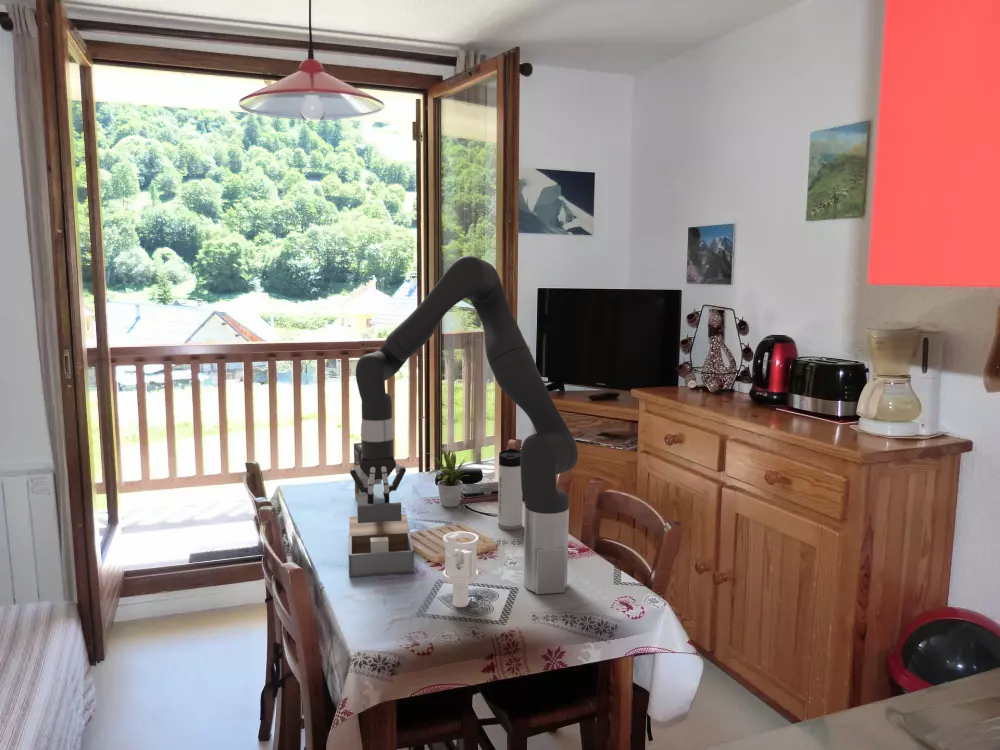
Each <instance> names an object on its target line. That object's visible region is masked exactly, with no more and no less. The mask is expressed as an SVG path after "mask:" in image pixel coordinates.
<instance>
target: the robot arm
mask: <svg viewBox="0 0 1000 750" xmlns="http://www.w3.org/2000/svg"><path fill="white" fill-rule="evenodd" d="M502 284H503V283H502V281H501V279H500V276H499V273H498V271H497V270H496V268H495V267H494V266H493V265H492V264H491V263H489V262H487V261H486V260H484V259H481V258H479V257H477V256H473V255H464V256H460V257H459V258H458V259H456V260H455V261H454V262H453V263H452V264H451V265H450V266H449V267H448V269H447V270H446V271H445V272H444V274H443V275H442V276H441V278H440V279H439V281H438V282H436V284H435V285H434V287H433V288H432V289H431V290H430V292H429V293H428V295H427V296H426V297H425V298H424V299H423V300H422V302H421V303H420V304H419V305H418V306H417V307H416V308H415V309H414V311H413V312H412V313H410V315H409V316H408V317H406V318H405V319H404V320H403V321H402V322H401V323H400V324H399V325H398V326H397V327H396V328H394V329H393V330H392V332H391V333H389V334H388V335H387V337H386V339H385V343H384V344H383V345H382V346H381V347H380V348H378V350H377V351H375V352H371V353H367V354H364V355H362V356H361V357H360V358H359V359H358V360H357V363H356V367H355V380H356V384H357V389H358V393H359V397H360V398H361V399H360V400H361V424H360V441H361V442H360V443H361V450H362V460H361V462H360V465H359V466H357V467H355V468H354V467H351V468H350V469H349V471H350V472H349V474H350V476H351V478H352V480H353V481H354V484H355V483H356V484H357V486H358V488H359V490H360V491H361V492H365V493H367V494H368V504H373V496H374V492H373V487H374V480H377V479H381V480H382V486H383V495H384V498H385V503H390V493H391V492H393V491H394V492H395V491H397V490H398V487H399V486H400V484H401V482H402V480H403V478H404V476H405V473H406V471H407V469H406V466H405V465H400V464H398V463H397V462H396V459H395V451H394V449H395V448H394V446H395V445H394V423H393V404H392V403H393V402H392V397H391V395H390V394H389V393H387V392H386V387H385V381H387V380H390V378H392V377H393V376H394V375H395V374H396V373H398V371H399V370H401V368H402V367H403V366H404V364H405V363H406V362H407V360H408V359H409V358H410V357H412V356H413V355H414V354H415V353H416V352H418V350H420V349H421V348H422V347H423V346H424V345H425V344H426V343H427V342H428V341H429V340H430V339H431V337H432V335H434V333H435V332H436V330H437V328H438V326H439V324H440V322H441V321H442V319H443V318H444V316H445V315H446V314H447V313H448V312H449V310H450V309H452V308H453V307H455V306H456V305H457V304H458V303H460V302H461V301H463V300H464V299H467V300H469V301H470V302H471V304H472V305H473V308H474V310H475V311H476V314H477V315H478V317H479V319H480V322H481V324H482V327H483V334H484V347H485V353H486V354H485V355H486V359H487V362H488V365H489V366H490V369H491V371H492V373H493V376H494V378H495V381H496V382H497V384H498V386H499V387H500V389H501V390H502V391H503V392H504V393H505V394H506V395H507V397H508V398H510V399H511V400H512V401H513V403H515V404H516V405H517V406H518V407H519V408H520V409H521V410H522V411H523V412H524V413H525V414H526V416H527V417H528V418H529V420H530V422H531V423H532V425H533V427H534V429H535V431H536V433H534V434H533V433H532V434H531V435H529V436H527V437H526V438H525V439H524V440H523V443H522V444H521V449H520V451H521V454H520V466H521V488H522V497H523V498H524V535H523V536H524V539H523V542H524V544H523V549H524V550H523V552H524V553H523V586H524V588H526V590H529V591H530V592H531V591H532V592H533V593H535V594H536V595H547V594H548V595H549V594H558V593H559V594H560V593H561V594H562V593H566V589H567V588H568V563H569V562H568V560H569V559H568V558H569V556H568V555H569V521H570V520H569V519H570V517H569V515H570V514H569V513H570V497H569V494H568V493H567V492H566V491H565V490H562V489H559V488H557V486H558V485H557V475H559V474H562V473H567V472H569V471H570V470H572V469H573V468H574V467H575V466H576V464H577V463H578V458H579V457H578V456H579V451H578V446H577V443H576V440H575V439H574V436H573V434H572V432H571V430H570V429H569V427H568V425H567V424H566V422H565V420H564V418H563V417H562V415H561V413H560V411H559V410H558V408H557V407H556V405H555V404H556V403H555V402H554V401H553V399H552V396H551V395H550V392H549V391H548V390H549V389H548V388H547V386H546V384H545V382H544V380H543V378H542V376H541V373H540V372H539V369H538V367H537V364H536V361H535V359H534V356H533V355H532V352H531V350H530V347H529V346H528V344H527V342H526V340H525V337H524V336H523V333H522V331H521V330H520V327H519V325H518V323H517V321H516V319H515V317H514V315H513V313H512V311H511V310H512V309H511V308H510V305H509V303H508V300H507V297H506V295H505V294H506V293H505V292H504V291H505V290H504V287H503V285H502ZM361 469H362V471H363V472H364V473H365V474H366V476H367V477H368V478H369V479H368V486H365V485H364V484H363V482H362V480H361V478H360V477H359V476H360V470H361ZM394 470H395V474H396V475H395V477H394V479H393V481H392V483H390V484H389V478H388V477H390V475H391V474H392V472H393V471H394Z"/></svg>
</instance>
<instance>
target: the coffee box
mask: <svg viewBox="0 0 1000 750" xmlns="http://www.w3.org/2000/svg"><path fill="white" fill-rule="evenodd" d="M361 460H362V450H361V442H355V443H353V461H354V462H353V464H354V465H353V466H354V467H353V468H355V467H357V466H359V465H360V462H361ZM359 477H360V478H361V480H362V482H363V484H364V485H365V486H368V479H369V478H368V477H367V476H366V474H365V473H364V472H363V471H362V469H361V470H360V476H359ZM374 484H382V485H383V480H381V479H377V480H374ZM354 496H355V499H356V501H357V503H358V505H359V504H368V494H367V493H365V492H361V491H360V490H359V488H358V486H357V484H356V483H355V482H354Z"/></svg>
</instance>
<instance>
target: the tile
mask: <svg viewBox="0 0 1000 750" xmlns="http://www.w3.org/2000/svg"><path fill="white" fill-rule="evenodd" d="M370 551H371V553H379V552H389V544H388V537H377V538H370Z"/></svg>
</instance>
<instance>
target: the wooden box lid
mask: <svg viewBox="0 0 1000 750" xmlns="http://www.w3.org/2000/svg"><path fill="white" fill-rule="evenodd" d="M401 515H402V521H391V522H373V523H358V515H356V516H349V518H348V519H349V523H348V525H349V527H348V531H349V532H348V535H349V536H352V554H362V553H371V551H370V538H377V537H388V544H389V552H396V551H408V540H407V533H410V534H411V531H410V527H409V522H408V517H407V513H403V514H402V513H401ZM349 536H348V537H349Z"/></svg>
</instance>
